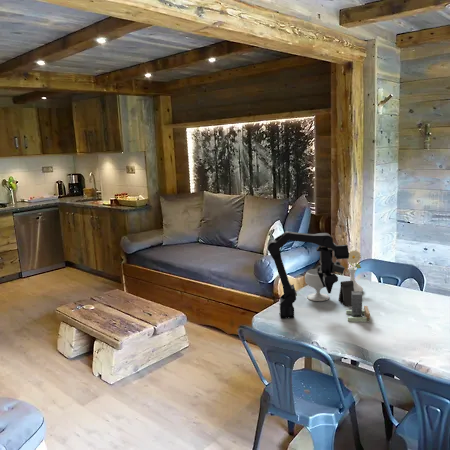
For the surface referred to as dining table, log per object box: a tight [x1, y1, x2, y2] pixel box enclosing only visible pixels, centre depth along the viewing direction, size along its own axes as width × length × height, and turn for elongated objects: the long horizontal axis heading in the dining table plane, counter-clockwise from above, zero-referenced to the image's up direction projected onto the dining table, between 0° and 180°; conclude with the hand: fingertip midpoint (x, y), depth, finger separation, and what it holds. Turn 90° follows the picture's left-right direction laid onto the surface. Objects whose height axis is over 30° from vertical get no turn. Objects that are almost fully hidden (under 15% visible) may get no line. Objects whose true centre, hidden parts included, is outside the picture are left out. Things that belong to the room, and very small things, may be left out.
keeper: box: [345, 305, 371, 323], centre depth 209 cm, size 10×10×4 cm
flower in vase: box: [346, 249, 364, 293], centre depth 241 cm, size 13×11×25 cm
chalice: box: [304, 268, 330, 302], centre depth 237 cm, size 14×14×15 cm
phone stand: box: [338, 280, 354, 308], centre depth 227 cm, size 9×6×12 cm, turn 7°
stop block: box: [351, 291, 363, 317], centre depth 208 cm, size 4×4×12 cm
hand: (327, 290), depth 212 cm, fingers open, 9 cm apart
